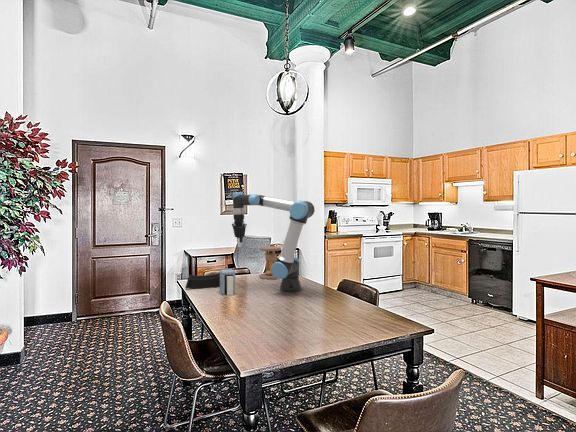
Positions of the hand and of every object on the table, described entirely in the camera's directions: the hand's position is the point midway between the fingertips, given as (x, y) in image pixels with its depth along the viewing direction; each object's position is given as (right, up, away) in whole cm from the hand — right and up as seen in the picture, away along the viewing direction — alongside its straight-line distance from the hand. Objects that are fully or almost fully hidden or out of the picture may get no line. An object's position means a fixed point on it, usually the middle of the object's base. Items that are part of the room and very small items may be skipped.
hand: (240, 246), depth 262 cm
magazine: (-24, -30, +2) cm, 38 cm away
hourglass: (+20, -29, +40) cm, 53 cm away
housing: (-7, -30, -12) cm, 33 cm away
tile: (-6, -30, -12) cm, 33 cm away
